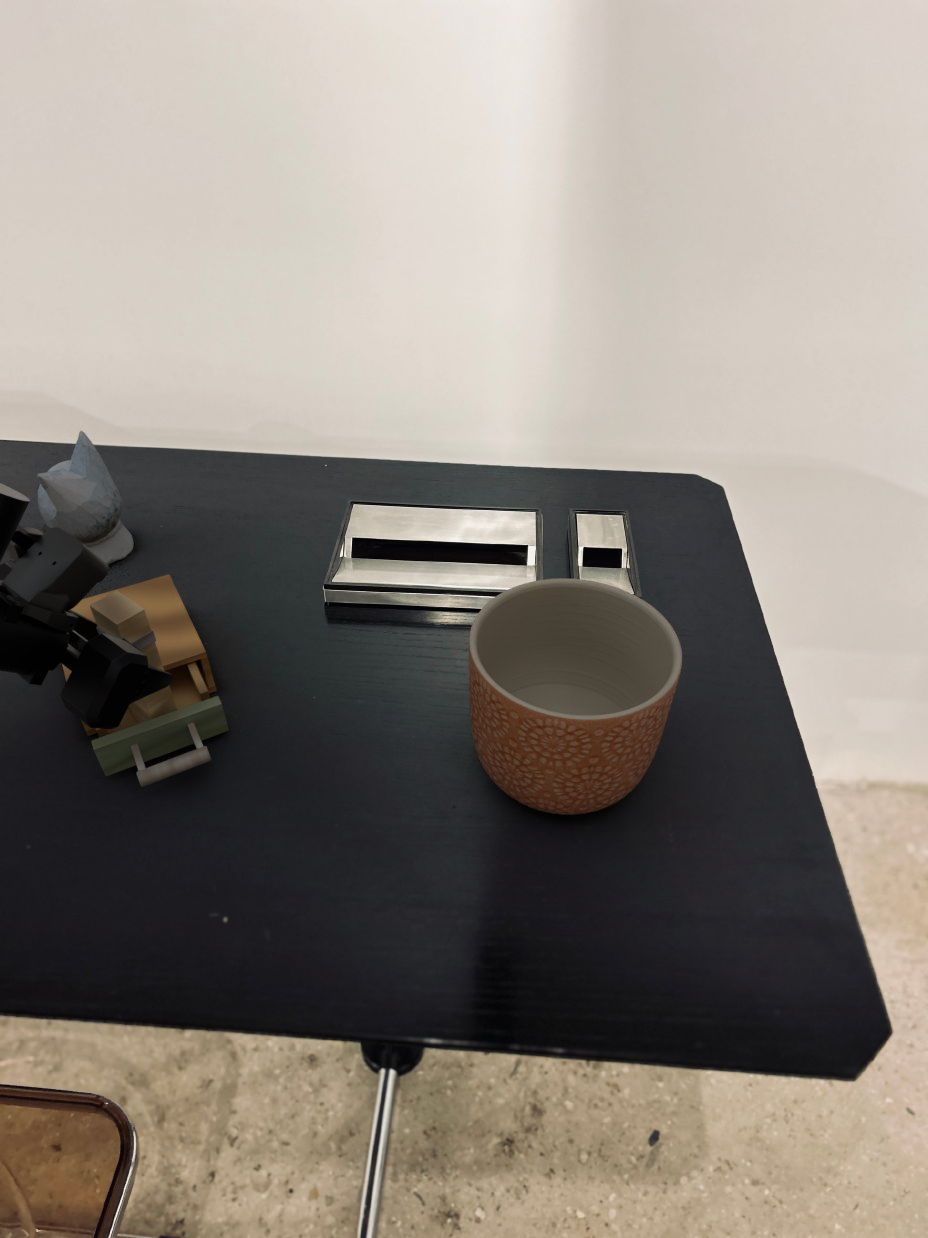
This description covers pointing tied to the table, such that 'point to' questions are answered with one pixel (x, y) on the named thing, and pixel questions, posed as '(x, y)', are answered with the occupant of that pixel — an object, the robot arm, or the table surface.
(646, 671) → the planter
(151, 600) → the cabinet
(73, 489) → the figurine
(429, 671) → the table surface
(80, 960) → the table surface
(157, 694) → the block
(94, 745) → the drawer
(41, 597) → the robot arm
